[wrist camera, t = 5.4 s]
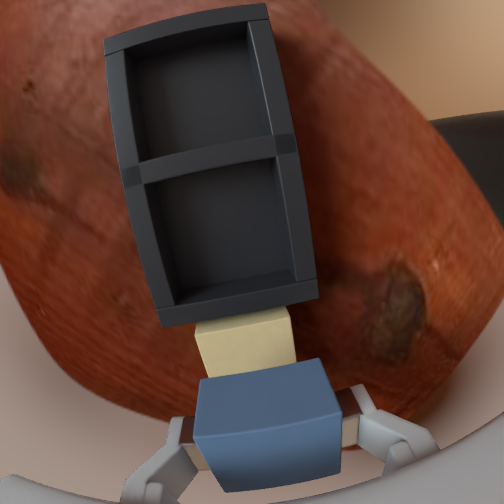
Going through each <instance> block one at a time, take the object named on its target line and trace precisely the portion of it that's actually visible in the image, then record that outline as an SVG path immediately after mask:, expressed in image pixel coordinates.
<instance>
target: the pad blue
mask: <svg viewBox="0 0 504 504" xmlns="http://www.w3.org/2000/svg"><path fill="white" fill-rule="evenodd" d="M342 419H343V412H342V409H341V407H340V405H339V402H338V400H337V397H336V395H335V393H334V390H333V388H332V386H331V383H330V381H329V379H328V376H327V374H326V372H325V369H324V367H323V365H322V362H321V360H320V358H314V359H310V360H306V361H301V362H297V363H292V364H287V365H283V366H278V367H273V368H267V369H262V370H256V371H251V372H245V373H239V374H232V375H226V376H219V377H211V378H204V379H201V380H200V385H199V392H198V400H197V407H196V415H195V423H194V431H193V439H194V441H195V443H196V445H197V447H198V448H199V450H200V452H201V454H202V455H203V457H204V459H205V461H206V462H207V464H208V466H209V468H210V469H211V471H212V473H213V474H214V475H215V477H216V479H217V481H218V482H219V484H220V485H221V487H222V489H223V490H224V492H227V493H228V492H239V491H249V490H258V489H265V488H273V487H278V486H284V485H291V484H295V483H301V482H305V481H310V480H314V479H319V478H323V477H327V476H331V475H335V474H338V473H340V469H341V452H342Z"/></svg>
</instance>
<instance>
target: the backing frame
mask: <svg viewBox="0 0 504 504" xmlns="http://www.w3.org/2000/svg"><path fill="white" fill-rule="evenodd" d="M103 41H104V56H105V70H106V81H107V91H108V100H109V108H110V116H111V123H112V130H113V136H114V143H115V149H116V154H117V160H118V165H119V171H120V176H121V181H122V186H123V190H124V195H125V200H126V204H127V208H128V213H129V217H130V221H131V225H132V229H133V233H134V237H135V241H136V245H137V248H138V252H139V256H140V259H141V263H142V266H143V270H144V273H145V277H146V280H147V283H148V286H149V290H150V293H151V296H152V299H153V302H154V305H155V308H156V312H157V315H158V318H159V320H160V323H161V326H162V327H170V326H176V325H183V324H189V323H195V322H201V321H207V320H213V319H219V318H224V317H230V316H235V315H241V314H246V313H251V312H256V311H261V310H267V309H271V308H276V307H281V306H286V305H291V304H295V303H300V302H304V301H309V300H313V299H318V298H319V289H318V280H317V278H316V277H317V273H316V264H315V256H314V248H313V241H312V233H311V226H310V219H309V212H308V205H307V199H306V192H305V186H304V180H303V174H302V168H301V162H300V157H299V151H298V145H297V140H296V135H295V130H294V124H293V119H292V114H291V109H290V105H289V100H288V95H287V91H286V86H285V81H284V77H283V73H282V68H281V64H280V60H279V56H278V51H277V47H276V43H275V39H274V35H273V32H272V28H271V24H270V21H269V15H268V12H267V8H266V5H265V3H259V4H249V5H240V6H232V7H225V8H218V9H212V10H206V11H201V12H196V13H191V14H186V15H182V16H178V17H174V18H170V19H166V20H162V21H158V22H155V23H151V24H148V25H145V26H141V27H138V28H135V29H132V30H129V31H126V32H123V33H120V34H118V35H115V36H112V37H110V38H107V39H104V40H103Z"/></svg>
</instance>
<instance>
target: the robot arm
mask: <svg viewBox="0 0 504 504" xmlns="http://www.w3.org/2000/svg"><path fill="white" fill-rule="evenodd" d="M334 393H335V395H336V397H337V400H338V402H339V405H340V407H341V409H342V412H343V419H342V448H343V447H347V446H351V445H354V444H357V445H359V446H360V447H362V448H363V449H365V450H366V451H368V452H369V453H371V454H372V455H374V456H375V457H377V458H378V459H380V460H381V461H383V462H384V463H386V464H385V467H384V470H383V474H382V476H380V477H377V478H374V479H371V480H368V481H365V482H362V483H359V484H356V485H353V486H350V487H346V488H342V489H339V490H335V491H332V492H327V493H323V494H319V495H315V496H310V497H305V498H300V499H295V500H290V501H284V502H277V503H271V504H504V412H502V413H501V414H500V415H498V416H497V417H495V418H494V419H493V420H491V421H489V422H488V423H486V424H485V425H484V426H482V427H480V428H479V429H477V430H475V431H474V432H472V433H470V434H469V435H467V436H465V437H464V438H462V439H460V440H458V441H457V442H455V443H453V444H451V445H449V446H447V447H446V448H444V449H442V450H440V449H439V447H438V445H437V444H436V442H435V441H434V439H433V438H432V436H431V434H430V433H429V431H428V430H427V429H426V428H423V427H421V426H418V425H416V424H414V423H411V422H409V421H407V420H404V419H402V418H400V417H397V416H395V415H393V414H391V413H388V412H386V411H384V410H382V409H379V410H377V409H376V407H375V405H374V403H373V402H372V400H371V398H370V396H369V394H368V393H367V391H366V389H365V387H364V385H363V384H358V385H355V386H352V387H349V388H345V389H342V390H338V391H334ZM194 423H195V416H184V417H173V418H172V419H171V421H170V426H169V431H168V436H167V440H166V445H165V447H161V448H160V449H159V450H158V451H157V452H156V453H154V454H153V455H152V456H151V457H150V458H149V459H148V460H147V461H146V462H145V463H143V464H142V465H141V466H140V467H139V468H138V469H137V470H136V471H135V472H134V473H132V474H131V475H130V476H129V477H128V478H127V479H126V480H125V484H124V487H123V491H122V495H121V498H120V502H112V501H107V500H101V499H96V498H92V497H87V496H82V495H78V494H74V493H70V492H66V491H63V490H60V489H56V488H53V487H49V486H46V485H43V484H40V483H37V482H34V481H32V480H29V479H26V478H23V477H21V476H18V475H14V474H12V475H9V476H6V477H5V478H3V479H1V480H0V504H180V503H179V502H178V501H177V499H178V498H179V497H180V495H181V494H182V493H183V491H184V490H185V489H186V487H187V486H188V485H189V484H190V482H191V481H192V480H193V478H194V477H195V475H196V474H197V473H198V471H204V470H211V469H210V468H209V466H208V464H207V462H206V461H205V459H204V457H203V455H202V454H201V452H200V450H199V448H198V447H197V445H196V443H195V441H194V439H193V431H194Z"/></svg>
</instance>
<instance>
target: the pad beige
mask: <svg viewBox="0 0 504 504" xmlns="http://www.w3.org/2000/svg"><path fill="white" fill-rule="evenodd" d="M195 338H196V341H197V344H198V347H199V350H200V353H201V356H202V359H203V362H204V365H205V368H206V371H207V374H208V377H209V378H211V377H219V376H226V375H232V374H239V373H245V372H251V371H256V370H262V369H267V368H273V367H278V366H283V365H287V364H292V363H297V361H296V353H295V346H294V339H293V332H292V325H291V318H290V315H289V313H288V310H287V308H286V306H281V307H276V308H271V309H267V310H261V311H256V312H251V313H246V314H241V315H235V316H230V317H224V318H219V319H213V320H207V321H201V322H197V326H196V331H195Z"/></svg>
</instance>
